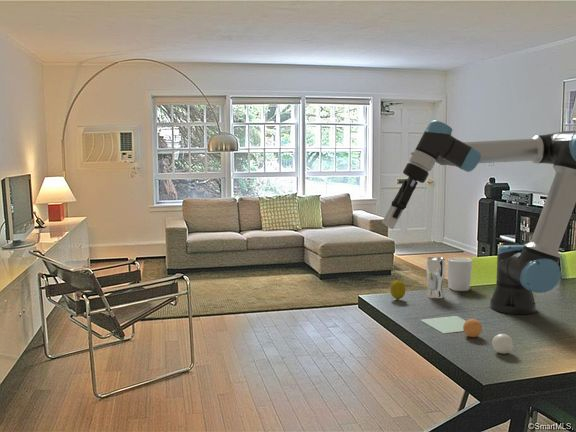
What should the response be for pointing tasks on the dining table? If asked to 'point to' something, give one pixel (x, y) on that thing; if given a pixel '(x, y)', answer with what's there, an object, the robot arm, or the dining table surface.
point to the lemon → (398, 289)
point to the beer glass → (435, 277)
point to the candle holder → (459, 273)
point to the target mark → (446, 324)
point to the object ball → (472, 328)
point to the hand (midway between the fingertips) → (386, 226)
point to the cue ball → (502, 343)
